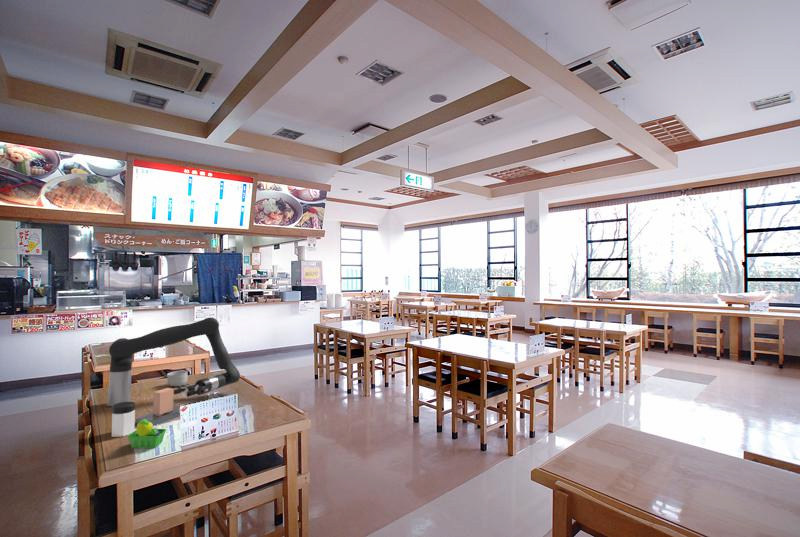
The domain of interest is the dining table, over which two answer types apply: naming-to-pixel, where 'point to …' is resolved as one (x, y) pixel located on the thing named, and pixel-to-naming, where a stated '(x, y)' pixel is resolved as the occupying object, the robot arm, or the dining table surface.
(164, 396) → the light brown rectangular block
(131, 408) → the jar
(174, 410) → the grey flat block
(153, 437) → the fruit basket
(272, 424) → the dining table surface
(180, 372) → the teacup
